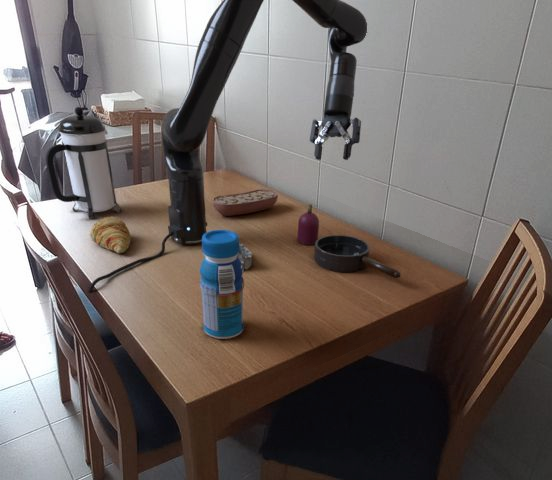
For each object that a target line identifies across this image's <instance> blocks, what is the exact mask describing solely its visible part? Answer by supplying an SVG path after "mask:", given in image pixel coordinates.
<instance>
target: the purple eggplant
mask: <svg viewBox="0 0 552 480" xmlns="http://www.w3.org/2000/svg"><path fill="white" fill-rule="evenodd" d="M306 211H307V212H304V213H302V214H301V215H300V216H299V218H298V224H297V237H296V240H297V241H298V242H299V243H301V244H302V245H308V246H309V245H315V242H316V241H317V239H319V227H320V220H319V217H318V215H317V214H316V213H314V212H312V211H313V204H312V203H309V204H308V205H307V209H306Z"/></svg>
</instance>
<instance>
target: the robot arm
mask: <svg viewBox="0 0 552 480" xmlns="http://www.w3.org/2000/svg"><path fill="white" fill-rule="evenodd" d="M264 1H265V0H222V1H221V3H220V4H218V6H217V8H216V9H215V10H214V12H213V13H212V15H210V17H209V20H208V22H207V24H206V26H205V28H204V31H203V33H202V35H201V37H200V40H199V43H198V46H197V49H196V53H195V56H194V62H193V68H192V74H191V80H190V84H189V87H188V90H187V92H186V95H185V96H184V98H183V100H182V103H181V105H180V106H179V107H175V108H171V109H169V110H168V111H167V112H166V113H165V114H164V116H163V118H162V121H161V140H162V148H163V155H164V163H165V166H166V170H167V177H168V178H167V179H168V187H169V188H168V189H169V199H170V204H169V205H168V206H167V211H168V222H169V225H168V226H167V228H168V229H167V230H168V234H167V235H166V236H165V237H164V238H163V240H162V242H161V250H160V252H158V253H157V254H154V255H153V256H149V257H144V258H139V259H136V260H134V261H132V262H129V263H127V264H125V265H122V266H120V267H118V268H117V269H115V270H113V271H111V272H109V273H106V274H104V275H102V276H99V277H97V278H95V279H94V280H93V281H92V282H91V284H90V285H89V287H88V289H87V294H90V293H92V292H93V289H94V288H95V286H96V285H97V283H99V282H100V281H103V280H105V279H108V278H110V277H112V276H115V275H116V274H118V273H120V272H122V271H124V270H126V269H128V268H130V267H134V266H135V265H137V264H140V263H144V262H148V261H151V260H154V259H157V258H159V257H161V256H162V255H163V254H164V253H165V250H166V243H167V240H168V239H171V240H172V241H173V242H176V243H177V244H179V245H180V246H187V245H188V246H189V245H191V246H192V245H199V244H202V236H203V235H204V234H205V233H207V232H208V231H207V227H208V222H207V218H206V217H207V216H206V215H207V214H206V198H205V196H206V195H205V179H204V178H205V177H204V166H203V164H202V162H201V161H202V160H201V156H200V150H199V148H200V147H201V146H202V144H203V143H204V140H205V138H206V135H207V132H208V128H209V125H210V122H211V119H212V116H213V114H214V111H215V108H216V105H217V103H218V101H219V99H220V96H221V95H222V92H223V91H224V89H225V86H226V84H227V82H228V80H229V78H230V75H231V73H232V72H233V69H234V68H235V66H236V63H237V61H238V59H239V58H240V55H241V53H242V50H243V48H244V45H245V42H246V40H247V38H248V36H249V33H250V32H251V29H252V27H253V25H254V22H255V21H256V19H257V16H258V13H259V11H260V9H261V7H262V5H263V3H264ZM291 1H292V2H294V4H295V5H297V6H298V7H299V8H300V9H301V10H302V11H304V13H306V14H307V16H309V17H310V18H311V19H312V20H313V21H314V22H315V23H316V24H317V25H319V26H320V27H322V28H324V29H328V33H327V41H328V42H327V43H328V48H329V49H328V50H329V58H330V66H329V68H330V69H329V75H328V81H327V85H326V91H325V92H326V93H325V98H324V108H323V118H322V120H317V119H313V120H312V124H311V129H310V134H309V142H310V143H312V144H313V145H314V153H313V155H314V158H315V160H318V161H320V160H322V155H323V145H324V144H325V142H326V141H328V140H329V138H343V140H344V142H345V144H344V147H343V155H342V159H343V160H344V161H348V160H349V159H350V158H351V156H352V148H353V145H356V144H359V143H360V141H361V139H360V137H361V129H362V128H361V126H362V120H360V119H359V118H358V117H354V118H352V119H351V117H352V110H353V103H354V97H355V80H356V72H357V61H358V60H357V57H356V56H355V54H353V53H352V52H351V53H350V52H347V49H348V47H351V46H354V45H357V44H360V43H361V42H363V41H364V40H365V39H366V37H367V35H366V33H367V34H368V32H367V25H368V21H367V19H366V17H365V15H364V14H363V13H362V12H361V11H360V10H359V9H358V8H356V7H354V6H353V5H351V4H348V3H347V2H345V1H342V0H291ZM366 21H367V22H366ZM365 36H366V37H365ZM364 38H365V39H364ZM350 127H351V128H352V132H351V133H352V134H351V135H350V133H349V131H348V129H350ZM321 128H322V130H321ZM320 130H321V131H320Z"/></svg>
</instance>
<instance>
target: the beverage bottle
mask: <svg viewBox="0 0 552 480" xmlns="http://www.w3.org/2000/svg"><path fill="white" fill-rule="evenodd" d="M239 245H240V236H239V234H238V233H237V232H235V231H232V230H228V229H213V230H209V231H207V232H206V233H205V234H204V235H203V236H202V243H201V248H202V254H203V255H204V256H205V257H204V258H203V259H202V262H201V263H200V267H199V273H200V276H201V277H200V279H199V287H200V290H201V302H202V317H203V318H202V319H203V330H204V333H205V334H206V335H208V336H209V337H211V338H214V339H220V340H229V339H232V338H236V337H238V336H240V335H241V334H242V333H243V331H244V329H245V324H244V323H245V321H244V288H245V279H244V277H243V274H244V269H243V266H242V263H241V261H240V260H239V258H238V257H237V255H238V253H239Z"/></svg>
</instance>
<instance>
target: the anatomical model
mask: <svg viewBox="0 0 552 480" xmlns="http://www.w3.org/2000/svg"><path fill="white" fill-rule="evenodd" d="M278 199H279V193H278V192H277V191H275V190H273V189H266V188H263V189H262V188H259V189H254V190H250V191H245V192H240V193H234V194H226V195H218V196H215V197H213V198H212V205H213V208H214V209H215V211H216V212H217V213H218V214H220V215H222V216H224V217H233V216H241V215H245V214H251V213H256V212H262V211H264V210H267V209H270V208H272V207H274V206H275V204H276V203H277V201H278Z"/></svg>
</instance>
